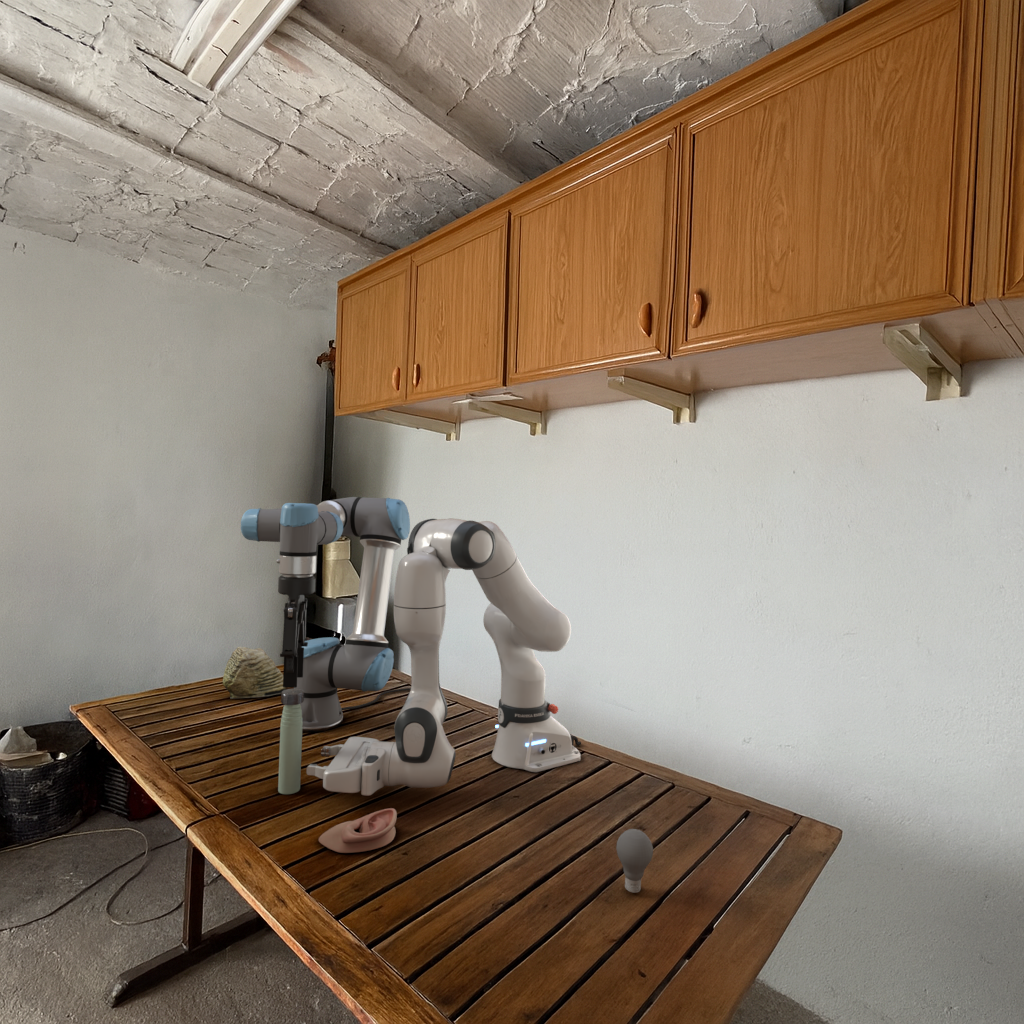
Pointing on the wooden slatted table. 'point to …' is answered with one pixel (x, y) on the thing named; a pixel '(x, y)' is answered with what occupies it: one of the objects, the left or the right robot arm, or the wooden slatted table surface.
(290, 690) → the cap
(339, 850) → the anatomical model
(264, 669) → the fossil
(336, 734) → the wooden slatted table surface
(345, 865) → the wooden slatted table surface
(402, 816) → the wooden slatted table surface
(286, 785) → the bottle
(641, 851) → the light bulb
